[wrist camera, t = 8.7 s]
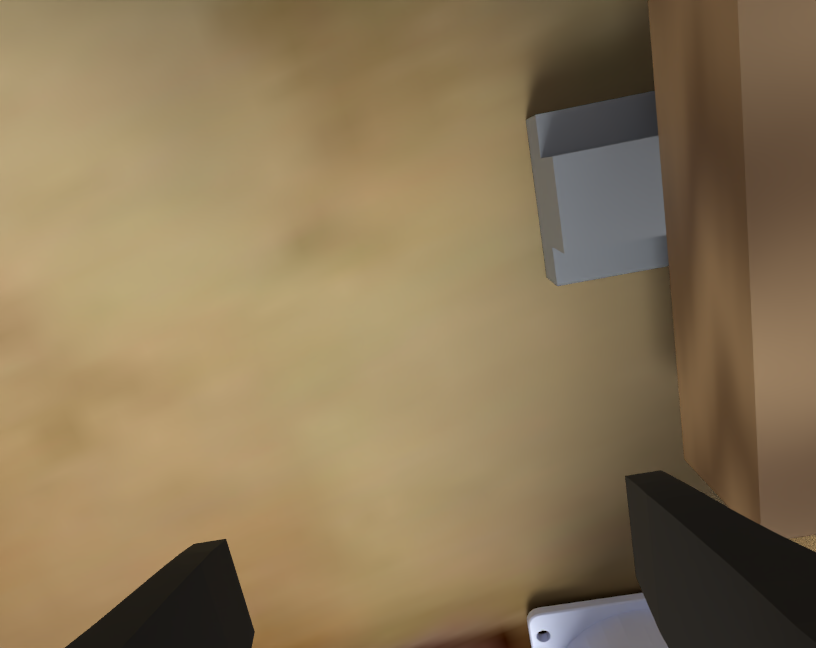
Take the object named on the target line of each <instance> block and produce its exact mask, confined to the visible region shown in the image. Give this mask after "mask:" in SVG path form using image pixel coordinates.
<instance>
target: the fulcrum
mask: <svg viewBox="0 0 816 648" xmlns="http://www.w3.org/2000/svg"><path fill="white" fill-rule="evenodd" d="M526 125H527V133H528V140H529V148H530V155H531V163H532V170H533V178H534V185H535V193H536V200H537V208H538V215H539V223H540V230H541V238H542V245H543V253H544V260H545V268H546V275H547V278H548V279H549V280H550V281H552V282H553V283H554V284H555V285H557V286H561V285H566V284H572V283H578V282H583V281H589V280H594V279H600V278H605V277H611V276H616V275H622V274H627V273H633V272H638V271H644V270H649V269H655V268H660V267H666V266H669V262H668V249H667V237H666V224H665V212H664V199H663V186H662V174H661V161H660V149H659V136H658V124H657V111H656V98H655V91H651V92H646V93H641V94H636V95H631V96H626V97H621V98H616V99H611V100H606V101H601V102H596V103H591V104H586V105H581V106H576V107H571V108H567V109H562V110H557V111H552V112H547V113H542V114H537V115H534V116H532V117H530V118H528V119H527V120H526Z"/></svg>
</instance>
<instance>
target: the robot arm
mask: <svg viewBox="0 0 816 648" xmlns="http://www.w3.org/2000/svg"><path fill="white" fill-rule="evenodd" d="M625 480H626V489H627V498H628V507H629V517H630V526H631V535H632V544H633V554H634V563H635V572H636V578H637V580H638V582H639V585H640V587H641V590H642V592H643V593H637V594H630V595H623V596H616V597H609V598H602V599H595V600H588V601H581V602H574V603H567V604H560V605H553V606H546V607H539V608H535V609H533V610H532V611H530V612H529V614H528V616H527V624H528V630H529V636H530V642H531V648H816V552H814V551H812V550H810V549H808V548H806V547H803V546H801V545H799V544H797V543H795V542H793V541H791V540H789V539H787V538H785V537H783V536H781V535H779V534H777V533H775V532H773V531H771V530H769V529H767V528H766V527H764V526H762V525H760V524H758V523H756V522H754V521H752V520H750V519H749V518H747V517H745V516H743V515H741V514H739V513H737V512H736V511H734V510H732V509H730V508H728V507H727V506H725V505H723V504H721V503H719V502H718V501H716V500H714V499H712V498H710V497H709V496H707V495H705V494H703V493H702V492H700V491H698V490H696V489H694V488H693V487H691V486H689V485H687V484H686V483H684V482H682V481H680V480H678V479H676V478H675V477H673V476H671V475H669V474H667V473H665V472H663V471H654V472H648V473H642V474H635V475H629V476H625ZM542 630H543V631H547V632H546V633H544V634H538V632H540V631H542ZM253 637H254V628H253V625H252V622H251V619H250V615H249V612H248V609H247V606H246V602H245V599H244V596H243V593H242V589H241V586H240V583H239V580H238V576H237V573H236V570H235V567H234V563H233V560H232V557H231V554H230V551H229V547H228V544H227V541H226V539H222V540H216V541H210V542H203V543H197V544H193V545H192V546H190V547H189V548H187V549H186V550H185V551H183V552H182V553H180V554H179V555H178V556H177V557H175V558H174V559H173V560H171V561H170V562H169V563H168V564H166V565H165V566H164V567H163V568H162V569H160V570H159V571H158V572H157V573H155V574H154V575H153V576H152V577H151V578H149V579H148V580H147V581H146V582H145V583H143V584H142V585H141V586H140V587H139V588H137V589H136V590H135V591H134V592H133V593H131V594H130V595H129V596H128V597H127V598H125V599H124V600H123V601H122V602H121V603H119V604H118V605H117V606H116V607H115V608H113V609H112V610H111V611H110V612H109V613H107V614H106V615H105V616H104V617H103V618H101V619H100V620H99V621H98V622H97V623H95V624H94V625H93V626H92V627H90V628H89V629H88V630H87V631H85V632H84V633H83V634H82V635H80V636H79V637H78V638H76V639H75V640H74V641H73V642H71V643H70V644H69V645H68V646H66V647H65V648H251V647H252V642H253Z"/></svg>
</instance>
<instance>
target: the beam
mask: <svg viewBox="0 0 816 648" xmlns="http://www.w3.org/2000/svg"><path fill="white" fill-rule="evenodd" d="M648 10H649V23H650V35H651V48H652V61H653V73H654V86H655V98H656V111H657V124H658V136H659V149H660V161H661V174H662V186H663V199H664V212H665V224H666V237H667V249H668V262H669V275H670V287H671V300H672V312H673V325H674V338H675V350H676V363H677V375H678V388H679V400H680V413H681V426H682V438H683V451H684V460H685V461H686V462H687V463H688V464H689V465H690V466H691V467H692V468H693V469H694V470H695V472H696V473H697V474H698V475H699V476H700V477H701V478H702V479H703V480H704V481H705V482H706V483H707V484H708V486H709V487H710V488H711V489H712V490H713V491H714V492H715V493H716V494H717V495H718V496H719V497H720V498H721V499H722V501H723V502H724V503H725V504H726V505H727V506H728V507H729V508H730V509H732V510H734V511H736V512H737V513H739V514H741V515H743V516H745V517H747V518H749V519H750V520H752V521H754V522H756V523H758V524H760V525H762V526H764V527H766V528H767V529H769V530H771V531H773V532H775V533H777V534H779V535H781V536H783V537H785V538H787V539H790V538H796V537H803V536H810V535H816V0H648Z"/></svg>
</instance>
